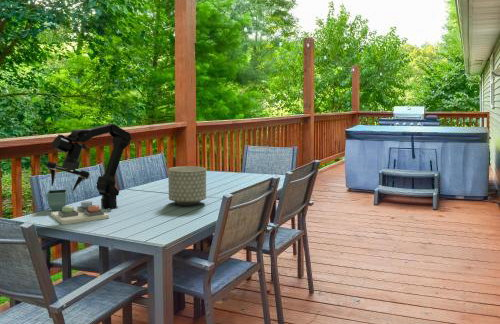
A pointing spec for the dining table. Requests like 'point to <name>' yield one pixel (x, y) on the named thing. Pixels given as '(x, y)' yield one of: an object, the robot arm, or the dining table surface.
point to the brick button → (93, 208)
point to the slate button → (85, 204)
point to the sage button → (67, 209)
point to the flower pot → (57, 199)
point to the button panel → (78, 216)
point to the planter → (187, 184)
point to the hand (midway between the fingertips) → (62, 188)
